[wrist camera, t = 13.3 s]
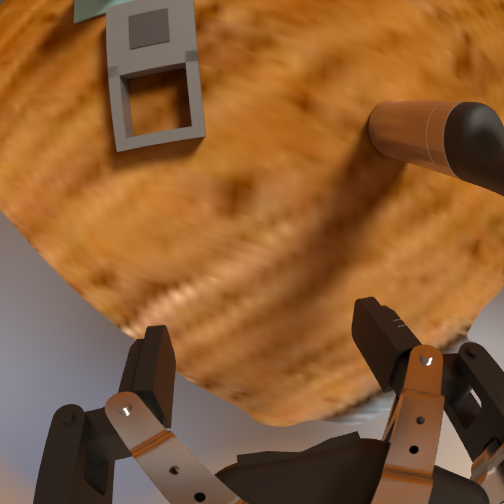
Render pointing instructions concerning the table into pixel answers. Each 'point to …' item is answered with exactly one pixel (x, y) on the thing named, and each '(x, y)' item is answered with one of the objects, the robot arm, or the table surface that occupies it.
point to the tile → (92, 8)
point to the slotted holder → (151, 62)
